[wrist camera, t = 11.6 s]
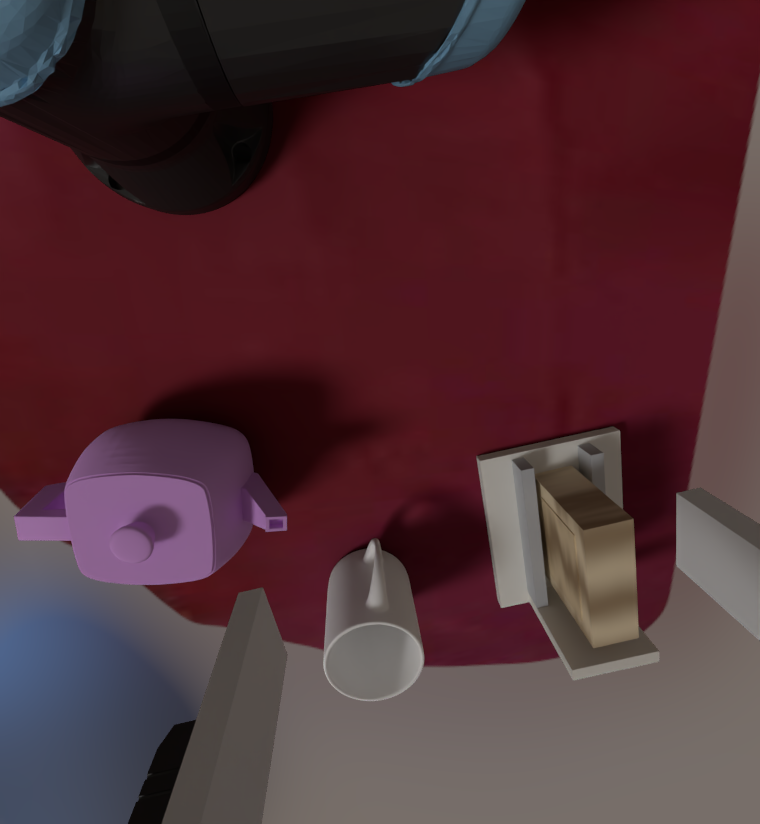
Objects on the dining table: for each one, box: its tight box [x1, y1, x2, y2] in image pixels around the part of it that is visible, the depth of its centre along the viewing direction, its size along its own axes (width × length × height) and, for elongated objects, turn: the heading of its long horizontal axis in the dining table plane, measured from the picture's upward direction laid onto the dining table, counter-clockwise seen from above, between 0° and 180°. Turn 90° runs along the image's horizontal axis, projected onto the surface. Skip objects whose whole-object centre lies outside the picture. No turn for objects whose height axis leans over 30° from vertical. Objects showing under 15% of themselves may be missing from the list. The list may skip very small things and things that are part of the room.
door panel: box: [535, 465, 639, 648], centre depth 41 cm, size 12×4×10 cm, turn 12°
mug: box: [323, 538, 424, 701], centre depth 42 cm, size 9×12×11 cm
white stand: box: [476, 427, 659, 680], centre depth 42 cm, size 18×14×11 cm
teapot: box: [14, 419, 287, 585], centre depth 36 cm, size 20×12×13 cm, turn 88°
